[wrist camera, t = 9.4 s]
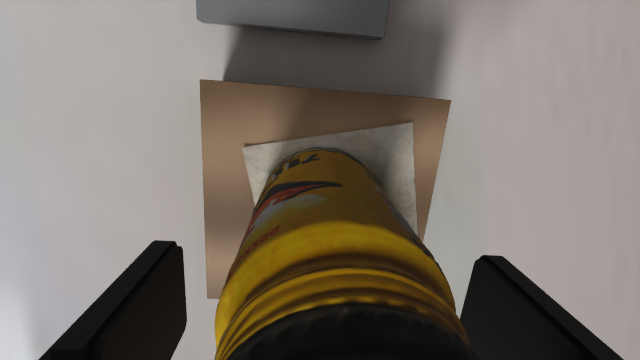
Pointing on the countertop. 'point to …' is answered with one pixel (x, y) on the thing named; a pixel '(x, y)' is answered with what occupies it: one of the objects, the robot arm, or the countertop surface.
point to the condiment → (336, 258)
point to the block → (288, 124)
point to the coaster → (300, 15)
